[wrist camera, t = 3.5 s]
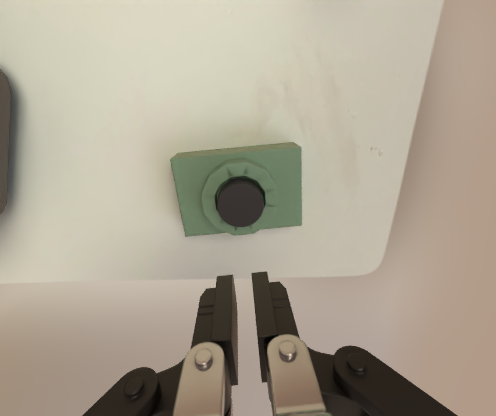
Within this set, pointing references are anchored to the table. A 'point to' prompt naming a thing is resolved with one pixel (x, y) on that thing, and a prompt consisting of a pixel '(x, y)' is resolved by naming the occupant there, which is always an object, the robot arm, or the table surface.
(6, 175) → the alarm clock
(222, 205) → the black button
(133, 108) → the table surface
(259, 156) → the green push button box
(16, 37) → the table surface
